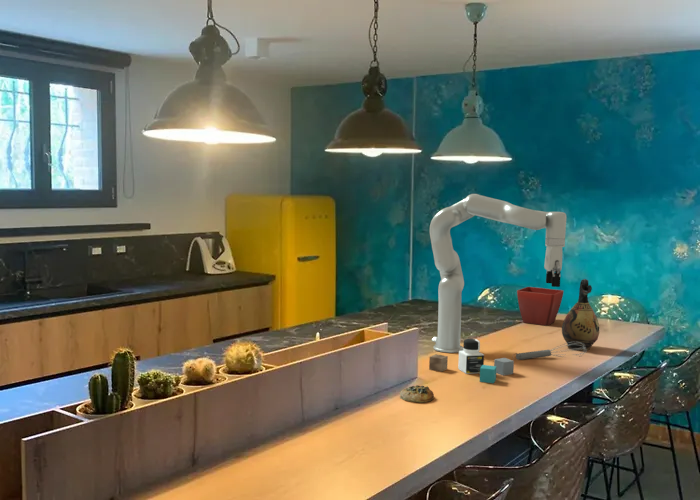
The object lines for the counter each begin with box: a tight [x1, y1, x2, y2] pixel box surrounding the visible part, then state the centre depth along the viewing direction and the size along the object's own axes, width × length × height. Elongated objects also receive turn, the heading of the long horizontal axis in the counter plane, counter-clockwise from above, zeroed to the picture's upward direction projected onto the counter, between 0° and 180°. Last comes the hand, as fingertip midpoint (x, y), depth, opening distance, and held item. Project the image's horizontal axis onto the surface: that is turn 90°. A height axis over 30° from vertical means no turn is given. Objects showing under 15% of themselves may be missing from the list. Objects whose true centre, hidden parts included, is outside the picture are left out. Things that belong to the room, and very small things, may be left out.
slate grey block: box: [493, 357, 515, 377], centre depth 254 cm, size 5×5×5 cm
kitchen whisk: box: [511, 342, 588, 361], centre depth 279 cm, size 6×34×6 cm, turn 106°
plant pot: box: [516, 286, 565, 326], centre depth 352 cm, size 19×19×17 cm
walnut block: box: [428, 354, 449, 373], centre depth 257 cm, size 5×5×5 cm
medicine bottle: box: [457, 338, 485, 375], centre depth 255 cm, size 7×7×12 cm
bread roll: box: [399, 384, 435, 404], centre depth 221 cm, size 11×11×5 cm
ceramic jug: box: [561, 278, 600, 352], centre depth 296 cm, size 17×15×30 cm
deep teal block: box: [479, 364, 497, 384], centre depth 243 cm, size 5×5×5 cm
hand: (552, 284), depth 276 cm, fingers open, 9 cm apart
